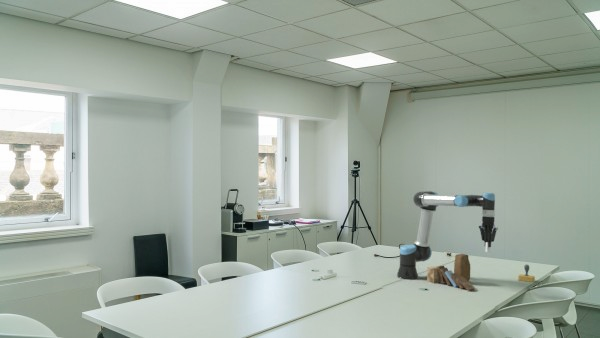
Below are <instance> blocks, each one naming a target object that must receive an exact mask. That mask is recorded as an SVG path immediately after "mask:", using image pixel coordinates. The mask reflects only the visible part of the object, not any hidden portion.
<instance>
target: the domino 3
mask: <svg viewBox="0 0 600 338" xmlns="http://www.w3.org/2000/svg"><path fill="white" fill-rule="evenodd" d="M453 273H454V271H453V270H448V271H446V272H445V274H446V276H447V277H448V279H449V280H450V281H451V283H452V284H453V285H452V286H453V287H454V288H460V287H459V286H458V285H457V284H456V283H455V282H454V280H453V279H452V278H451V277H450V275H451V274H453Z"/></svg>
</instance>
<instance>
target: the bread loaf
mask: <svg viewBox="0 0 600 338" xmlns="http://www.w3.org/2000/svg"><path fill="white" fill-rule="evenodd" d="M454 258H455V259H454V262H453V263H454V265H453V268H454V269H453V273H456V274H457V275H458V276H463V277H464V278H465V279H466V280H467V281H468V282H469V281H470V279H471V263H470V260H469V254H467V253H466V254H465V253H460V254H459V253H458V254H455V256H454Z"/></svg>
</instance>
